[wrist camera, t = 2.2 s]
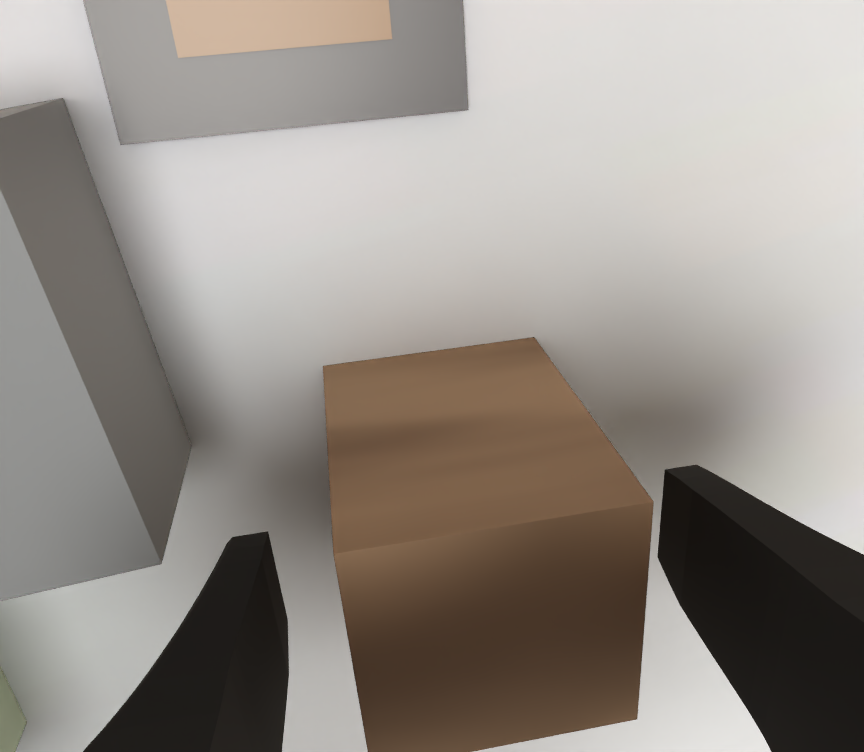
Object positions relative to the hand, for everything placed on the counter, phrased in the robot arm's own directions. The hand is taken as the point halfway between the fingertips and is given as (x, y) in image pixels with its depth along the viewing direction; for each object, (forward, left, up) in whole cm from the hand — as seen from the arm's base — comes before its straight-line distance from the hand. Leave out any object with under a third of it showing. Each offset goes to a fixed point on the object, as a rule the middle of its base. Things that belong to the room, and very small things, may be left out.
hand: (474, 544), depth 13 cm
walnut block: (0, 0, -4) cm, 4 cm away
